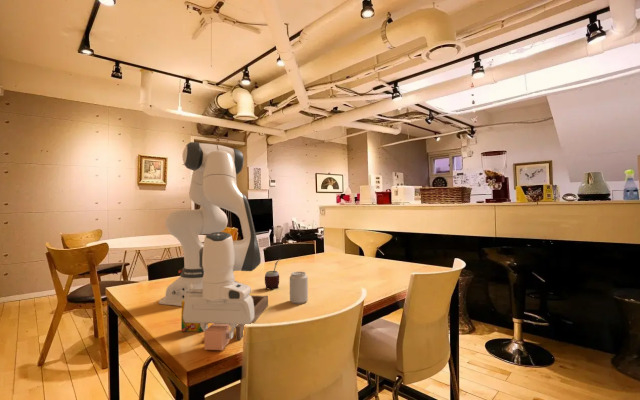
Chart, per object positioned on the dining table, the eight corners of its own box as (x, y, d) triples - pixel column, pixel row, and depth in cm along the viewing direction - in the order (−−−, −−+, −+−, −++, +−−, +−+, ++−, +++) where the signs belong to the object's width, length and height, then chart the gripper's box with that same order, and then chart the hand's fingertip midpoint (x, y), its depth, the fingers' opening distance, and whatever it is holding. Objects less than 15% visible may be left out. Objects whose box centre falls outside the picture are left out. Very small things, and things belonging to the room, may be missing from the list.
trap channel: (211, 339, 90) (211, 325, 90) (246, 305, 121) (246, 295, 121) (239, 340, 90) (239, 326, 90) (268, 305, 120) (267, 295, 120)
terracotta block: (204, 349, 83) (204, 331, 83) (212, 341, 88) (212, 323, 88) (222, 350, 82) (221, 331, 82) (229, 341, 87) (229, 324, 87)
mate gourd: (265, 286, 149) (265, 256, 149) (281, 286, 150) (281, 256, 150) (264, 291, 142) (263, 259, 142) (281, 290, 142) (280, 258, 143)
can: (305, 304, 121) (304, 275, 121) (287, 303, 122) (287, 274, 123) (309, 299, 128) (309, 271, 128) (292, 298, 130) (292, 270, 130)
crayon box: (181, 332, 96) (180, 295, 96) (185, 328, 99) (185, 292, 99) (204, 331, 96) (203, 295, 96) (207, 328, 99) (207, 292, 99)
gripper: (178, 291, 84) (178, 341, 84) (249, 293, 82) (249, 344, 82) (190, 285, 90) (190, 331, 90) (256, 287, 88) (256, 334, 88)
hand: (218, 337), depth 86 cm, fingers closed on terracotta block, 5 cm apart
